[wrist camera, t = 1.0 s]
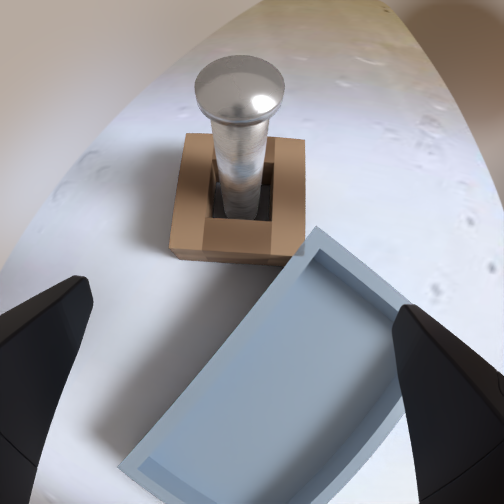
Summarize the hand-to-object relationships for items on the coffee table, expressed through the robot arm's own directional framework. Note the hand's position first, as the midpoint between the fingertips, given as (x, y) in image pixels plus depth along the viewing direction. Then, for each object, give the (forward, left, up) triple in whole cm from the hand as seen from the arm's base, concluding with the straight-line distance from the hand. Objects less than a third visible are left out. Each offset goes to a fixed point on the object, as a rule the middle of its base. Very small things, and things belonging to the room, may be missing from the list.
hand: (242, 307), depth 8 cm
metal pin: (+6, +5, -13) cm, 15 cm away
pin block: (+6, +5, -13) cm, 15 cm away
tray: (-3, -6, -13) cm, 15 cm away
